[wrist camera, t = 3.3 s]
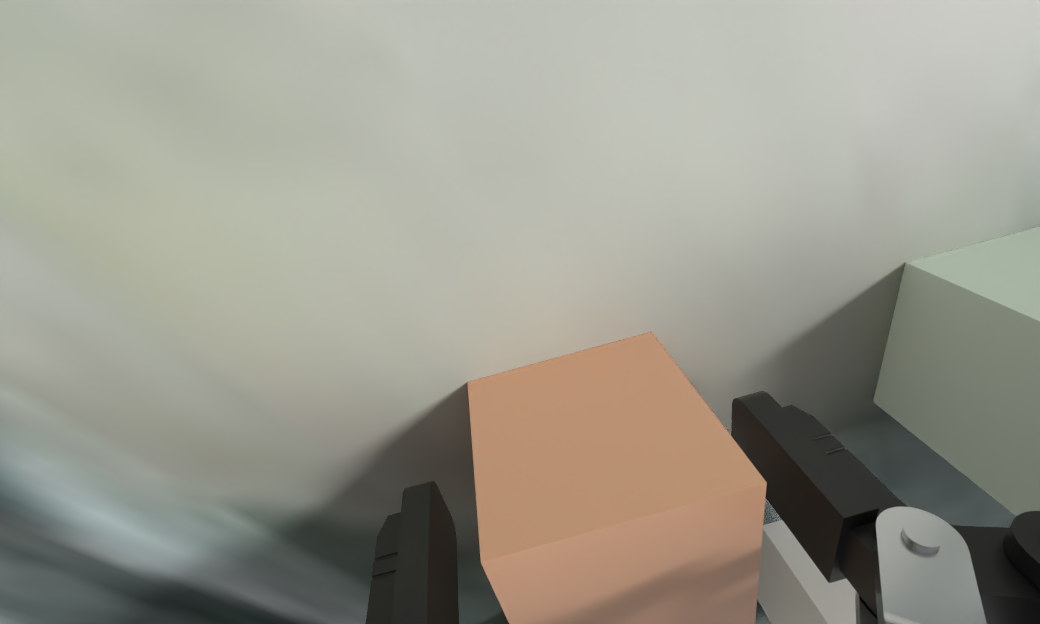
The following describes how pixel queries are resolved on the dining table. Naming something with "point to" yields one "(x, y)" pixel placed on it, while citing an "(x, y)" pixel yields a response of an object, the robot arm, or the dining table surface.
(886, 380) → the sage block
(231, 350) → the dining table surface
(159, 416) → the dining table surface
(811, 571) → the cream block
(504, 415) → the terracotta block
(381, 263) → the dining table surface
